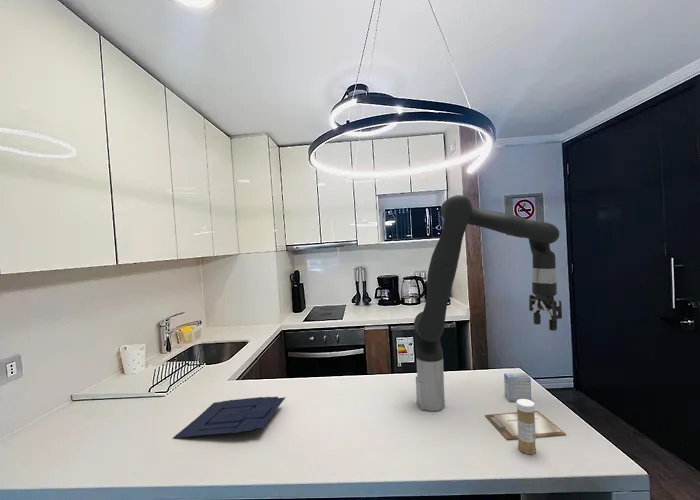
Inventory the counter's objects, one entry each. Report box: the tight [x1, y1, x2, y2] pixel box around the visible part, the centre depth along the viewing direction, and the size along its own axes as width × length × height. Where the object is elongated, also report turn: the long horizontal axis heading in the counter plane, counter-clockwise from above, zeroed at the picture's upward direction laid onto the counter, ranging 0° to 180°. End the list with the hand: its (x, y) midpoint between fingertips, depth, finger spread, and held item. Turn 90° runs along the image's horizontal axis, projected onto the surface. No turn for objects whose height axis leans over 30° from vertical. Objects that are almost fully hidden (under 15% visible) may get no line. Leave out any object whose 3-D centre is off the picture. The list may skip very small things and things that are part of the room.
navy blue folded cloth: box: [172, 396, 286, 439], centre depth 119 cm, size 24×30×4 cm
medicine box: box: [503, 372, 532, 402], centre depth 125 cm, size 8×4×9 cm, turn 84°
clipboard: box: [484, 410, 567, 441], centre depth 108 cm, size 18×14×2 cm
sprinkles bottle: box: [515, 399, 537, 455], centre depth 95 cm, size 5×5×13 cm
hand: (544, 327), depth 121 cm, fingers open, 8 cm apart
